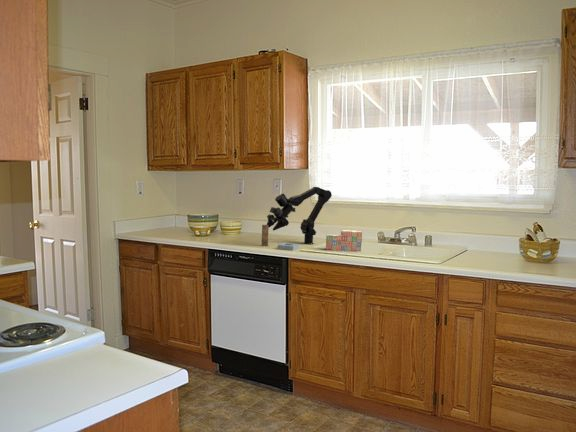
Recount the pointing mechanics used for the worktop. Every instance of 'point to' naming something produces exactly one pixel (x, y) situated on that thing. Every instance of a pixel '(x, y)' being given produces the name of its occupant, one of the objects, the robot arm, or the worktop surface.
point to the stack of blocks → (344, 241)
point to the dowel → (265, 235)
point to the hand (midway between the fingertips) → (269, 229)
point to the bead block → (288, 246)
